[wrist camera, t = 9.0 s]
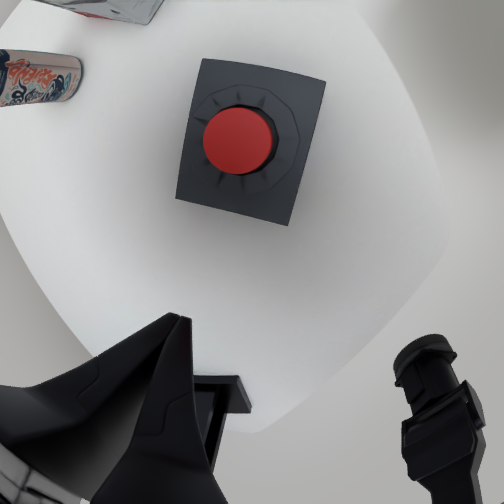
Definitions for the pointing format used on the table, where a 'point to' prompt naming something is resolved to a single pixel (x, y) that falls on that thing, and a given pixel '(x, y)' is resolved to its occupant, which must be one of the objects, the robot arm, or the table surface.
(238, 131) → the stop button
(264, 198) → the stop housing
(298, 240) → the table surface
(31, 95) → the beer can
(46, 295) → the table surface
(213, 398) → the switch bracket
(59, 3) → the ink box
